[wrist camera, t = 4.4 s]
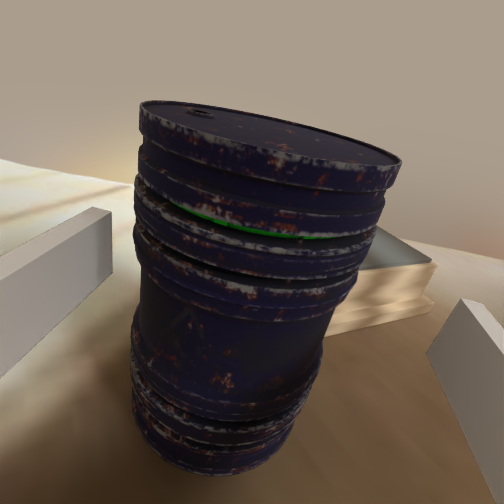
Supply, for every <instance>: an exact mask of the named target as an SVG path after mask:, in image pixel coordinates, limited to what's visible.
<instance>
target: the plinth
mask: <svg viewBox="0 0 504 504" xmlns="http://www.w3.org/2000/svg"><path fill="white" fill-rule="evenodd" d="M376 227H377V230H376V235H375V237H374V239H373V242H372V245H371V247H370V249H369V251H368V254H367V256H366V258H365V260H364V261H363V263H362V264H361V265H360V268H359V270H358V272H359V273H358V278H357V282H356V283H355V285H354V287H353V288H352V289H351V290H350V292H349V294H348V295H347V297H346V298H345V300H344V301H343V302H342V303H341V304H340V305H338V306H337V307H336V308H335V311H334V313H333V316H332V318H331V321H330V323H329V326H328V328H327V331H326V333H325V336H324V337H326V336H331V335H335V334H339V333H343V332H348V331H352V330H356V329H361V328H365V327H369V326H374V325H378V324H382V323H386V322H391V321H395V320H399V319H404V318H408V317H412V316H416V315H421V314H425V313H429V312H430V310H431V308H432V306H433V305H434V302H432V301H431V300H430V299H428V298H427V297H425V296H424V295H423V294H422V293H423V291H424V289H425V287H426V285H427V284H428V282H429V280H430V278H431V277H432V275H433V273H434V271H435V269H436V268H437V266H438V265H436V264H435V263H433V262H432V261H431V260H432V259H431V258H429V257H427V256H426V255H424V254H422V253H421V252H419V251H418V250H416V249H414V248H413V247H411V246H409V245H408V244H406V243H404V242H403V241H401V240H400V239H398V238H396V237H395V236H393V235H391V234H390V233H388V232H386V231H385V230H383V229H381V228H380V227H378V226H377V225H376Z"/></svg>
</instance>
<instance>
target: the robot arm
mask: <svg viewBox="0 0 504 504" xmlns="http://www.w3.org/2000/svg"><path fill="white" fill-rule="evenodd" d="M111 274H112V212H111V211H107V210H103V209H99V208H95V207H91V208H89V209H87V210H85V211H84V212H82V213H80V214H78V215H76V216H74V217H72V218H71V219H69V220H67V221H65V222H63V223H61V224H59V225H58V226H56V227H54V228H52V229H50V230H48V231H46V232H45V233H43V234H41V235H39V236H37V237H35V238H34V239H32V240H30V241H28V242H26V243H24V244H22V245H21V246H19V247H17V248H15V249H13V250H11V251H9V252H8V253H6V254H4V255H2V256H0V378H1V377H2V376H3V375H4V374H5V373H6V372H8V371H9V370H10V369H11V368H12V367H13V366H14V365H15V364H16V363H17V362H18V361H19V360H20V359H21V358H22V357H24V356H25V355H26V354H27V353H28V352H29V351H30V350H31V349H32V348H33V347H34V346H35V345H36V344H37V343H38V342H39V341H41V340H42V339H43V338H44V337H45V336H46V335H47V334H48V333H49V332H50V331H51V330H52V329H53V328H54V327H55V326H56V325H58V324H59V323H60V322H61V321H62V320H63V319H64V318H65V317H66V316H67V315H68V314H69V313H70V312H71V311H72V310H74V309H75V308H76V307H77V306H78V305H79V304H80V303H81V302H82V301H83V300H84V299H85V298H86V297H87V296H88V295H89V294H91V293H92V292H93V291H94V290H95V289H96V288H97V287H98V286H99V285H100V284H101V283H102V282H103V281H104V280H105V279H106V278H108V277H109V276H110V275H111ZM426 354H427V356H428V359H429V361H430V363H431V365H432V367H433V369H434V371H435V374H436V376H437V378H438V380H439V382H440V384H441V387H442V389H443V391H444V393H445V395H446V397H447V399H448V402H449V404H450V406H451V408H452V410H453V412H454V414H455V417H456V419H457V421H458V423H459V425H460V427H461V429H462V432H463V434H464V436H465V438H466V440H467V442H468V445H469V447H470V449H471V451H472V453H473V455H474V457H475V460H476V462H477V464H478V466H479V468H480V470H481V472H482V475H483V477H484V479H485V481H486V483H487V485H488V487H489V490H490V492H491V494H492V496H493V498H494V500H495V503H496V504H504V329H503V328H502V326H501V325H500V324H499V323H498V322H497V320H496V319H495V318H494V317H493V316H492V315H491V313H490V312H489V311H488V310H487V309H486V307H485V306H484V305H483V304H482V303H478V302H474V301H470V300H466V299H462V298H461V299H460V300H459V302H458V303H457V305H456V307H455V308H454V310H453V311H452V313H451V314H450V316H449V318H448V319H447V321H446V322H445V324H444V325H443V327H442V329H441V330H440V332H439V333H438V335H437V336H436V338H435V340H434V341H433V343H432V344H431V346H430V347H429V349H428V351H427V352H426Z"/></svg>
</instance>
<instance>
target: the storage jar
mask: <svg viewBox="0 0 504 504" xmlns="http://www.w3.org/2000/svg"><path fill="white" fill-rule="evenodd" d="M139 130H140V132H141V134H142V135H143V144H142V145H141V146H140V147H139V151H138V172H139V173H138V174H137V175H136V177H135V182H134V187H135V189H134V211H135V215H136V223H135V225H134V228H133V239H134V244H135V251H136V256H137V259H138V261H139V263H140V265H141V286H140V303H139V304H138V306H137V308H136V311H135V314H134V317H133V323H132V326H131V336H130V338H131V353H130V356H131V357H130V371H131V379H132V383H133V388H132V408H133V415H134V418H135V421H136V425H137V427H138V429H139V431H140V433H141V435H142V437H143V438H144V440H145V441H146V442H147V443H148V445H149V446H150V447H151V448H152V450H153V451H155V452H156V453H157V454H158V455H159V456H161V457H162V458H163V459H164V460H166V461H167V462H169V463H171V464H173V465H174V466H176V467H178V468H180V469H183V470H186V471H189V472H191V473H195V474H201V475H206V476H228V475H233V474H239V473H242V472H245V471H248V470H251V469H253V468H255V467H257V466H259V465H261V464H262V463H264V462H266V461H267V460H268V459H269V458H271V457H272V456H273V455H274V454H275V453H276V452H277V451H278V450H279V449H280V447H281V446H282V445H283V444H284V442H285V441H286V439H287V437H288V435H289V433H290V431H291V429H292V426H293V424H294V420H295V418H296V416H297V415H298V414H299V413H300V411H301V409H302V407H303V405H304V403H305V401H306V399H307V397H308V394H309V392H310V390H311V387H312V384H313V382H314V380H315V378H316V377H317V375H318V372H319V368H320V365H321V358H322V354H323V338H324V336H325V333H326V331H327V328H328V326H329V323H330V321H331V318H332V316H333V313H334V311H335V308H336V307H337V306H338V305H340V304H341V303H342V302H343V301H344V300H345V298H346V297H347V295H348V294H349V292H350V290H351V289H352V288H353V287H354V285H355V283H356V282H357V278H358V273H359V272H358V270H359V268H360V265H361V264H362V263H363V261H364V260H365V258H366V256H367V254H368V251H369V249H370V247H371V245H372V242H373V239H374V237H375V235H376V230H377V227H376V223H377V222H378V220H379V217H380V215H381V212H382V210H383V208H384V205H385V198H384V194H385V192H386V189H388V188H390V187H391V186H392V185H393V184H394V181H395V179H396V176H397V174H398V172H399V169H400V167H401V164H402V161H401V159H400V158H398V157H397V156H395V155H393V154H392V153H390V152H388V151H386V150H383V149H381V148H378V147H376V146H373V145H371V144H368V143H365V142H362V141H359V140H355V139H353V138H350V137H346V136H343V135H339V134H336V133H332V132H329V131H326V130H322V129H318V128H315V127H311V126H307V125H303V124H299V123H295V122H290V121H286V120H282V119H278V118H273V117H268V116H264V115H259V114H254V113H249V112H243V111H238V110H233V109H228V108H222V107H216V106H209V105H202V104H194V103H187V102H176V101H159V100H158V101H157V100H155V101H153V100H152V101H145V102H142V103H141V104H140V112H139Z"/></svg>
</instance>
